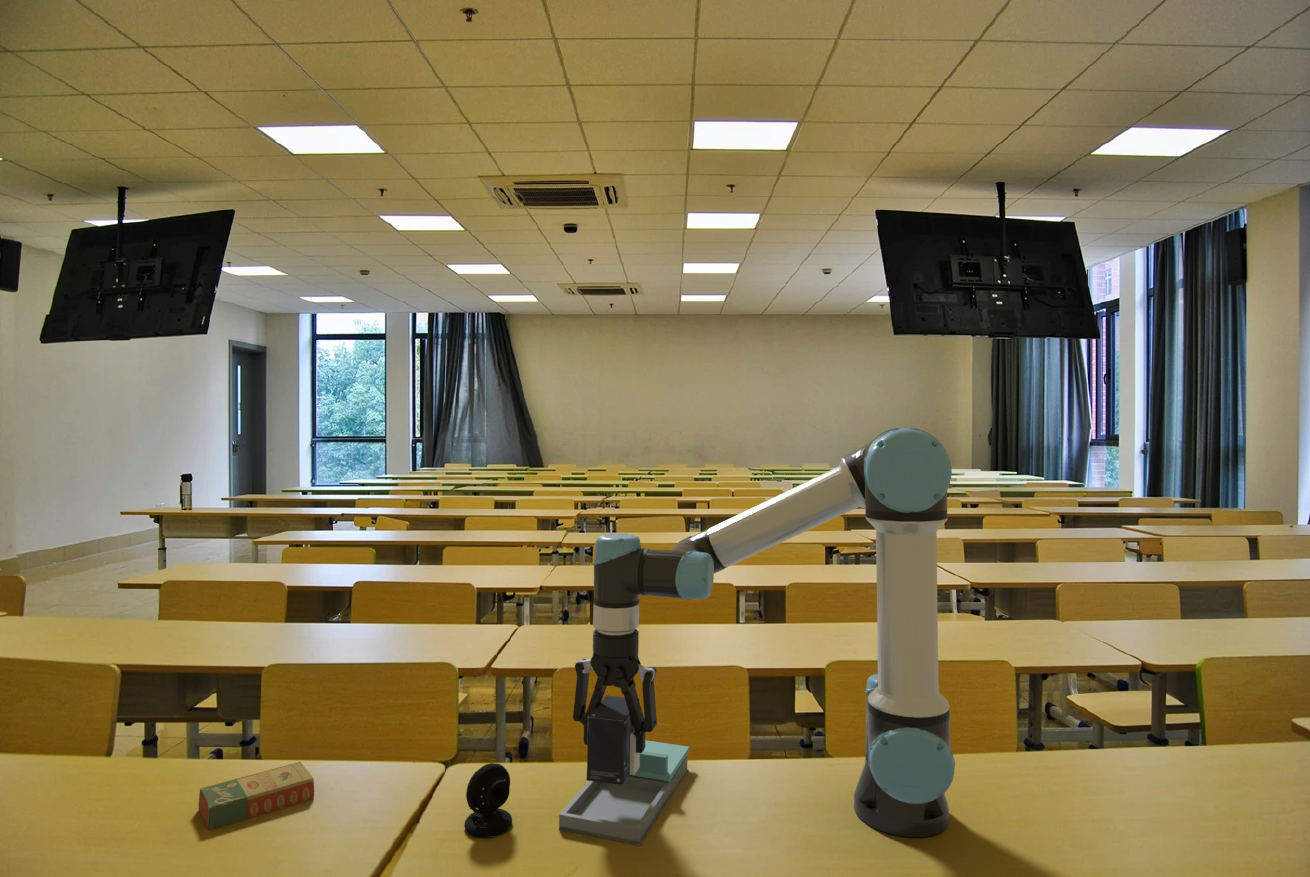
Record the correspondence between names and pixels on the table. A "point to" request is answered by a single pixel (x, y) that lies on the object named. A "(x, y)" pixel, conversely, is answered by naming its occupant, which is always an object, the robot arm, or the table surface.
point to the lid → (660, 760)
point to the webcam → (488, 801)
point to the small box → (609, 741)
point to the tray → (619, 807)
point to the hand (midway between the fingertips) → (613, 767)
